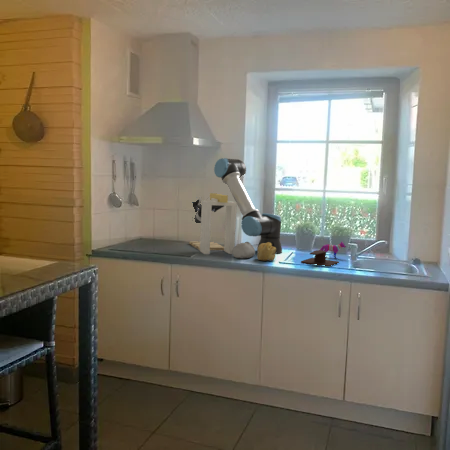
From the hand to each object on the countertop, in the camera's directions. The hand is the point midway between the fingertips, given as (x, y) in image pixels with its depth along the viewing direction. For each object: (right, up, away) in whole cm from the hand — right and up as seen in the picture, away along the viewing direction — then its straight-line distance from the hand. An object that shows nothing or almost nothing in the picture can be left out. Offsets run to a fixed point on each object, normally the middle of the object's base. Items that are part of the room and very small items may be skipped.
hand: (211, 198), depth 288 cm
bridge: (+3, -32, -10) cm, 34 cm away
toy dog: (+70, -35, -7) cm, 79 cm away
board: (-3, -30, +10) cm, 32 cm away
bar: (+4, -2, -11) cm, 12 cm away
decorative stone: (+18, -34, -20) cm, 44 cm away
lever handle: (+59, -38, -29) cm, 76 cm away
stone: (+30, -36, -26) cm, 54 cm away
